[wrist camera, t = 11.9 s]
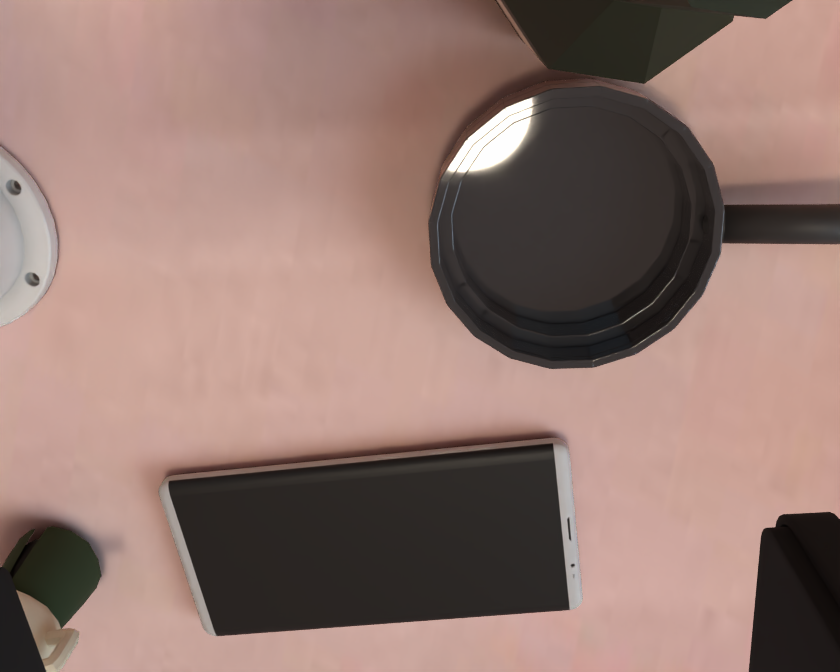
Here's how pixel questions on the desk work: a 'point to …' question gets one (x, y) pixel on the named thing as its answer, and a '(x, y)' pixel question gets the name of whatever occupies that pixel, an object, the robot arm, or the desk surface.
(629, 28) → the wine bottle
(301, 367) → the desk surface
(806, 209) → the pan handle
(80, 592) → the character mug
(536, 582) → the smartphone
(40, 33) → the desk surface
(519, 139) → the pan
